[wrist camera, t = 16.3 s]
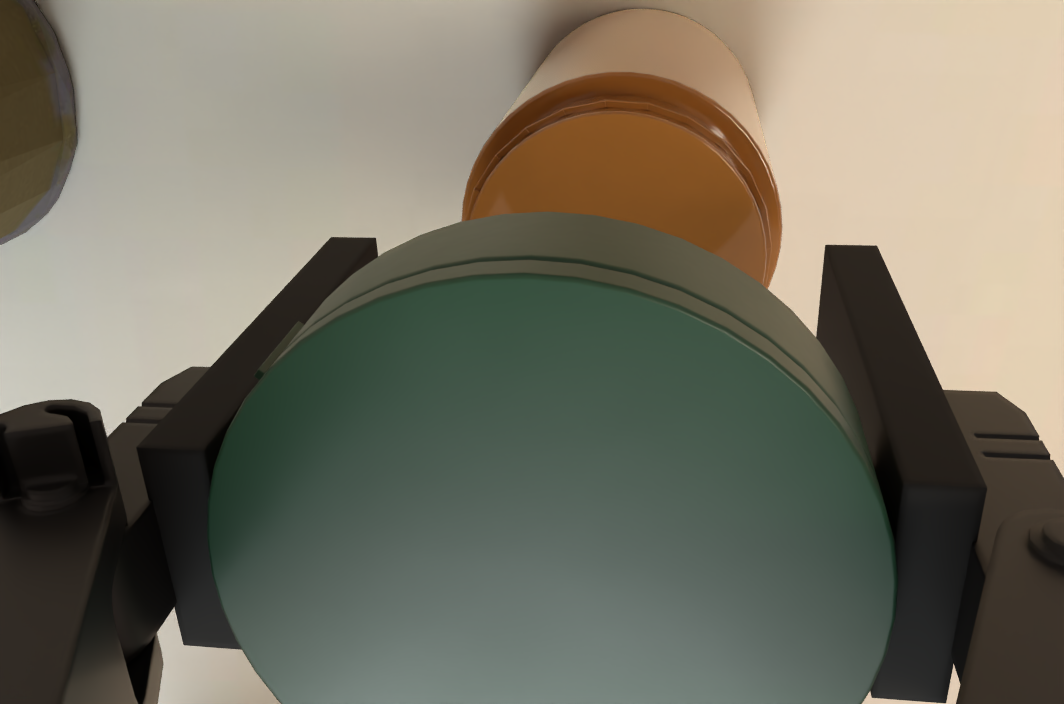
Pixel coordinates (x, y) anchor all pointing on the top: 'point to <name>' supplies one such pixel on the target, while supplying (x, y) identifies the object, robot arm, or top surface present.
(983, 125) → the top surface
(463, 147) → the top surface
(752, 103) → the jar
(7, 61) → the canister
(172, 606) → the robot arm
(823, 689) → the lid
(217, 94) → the top surface
